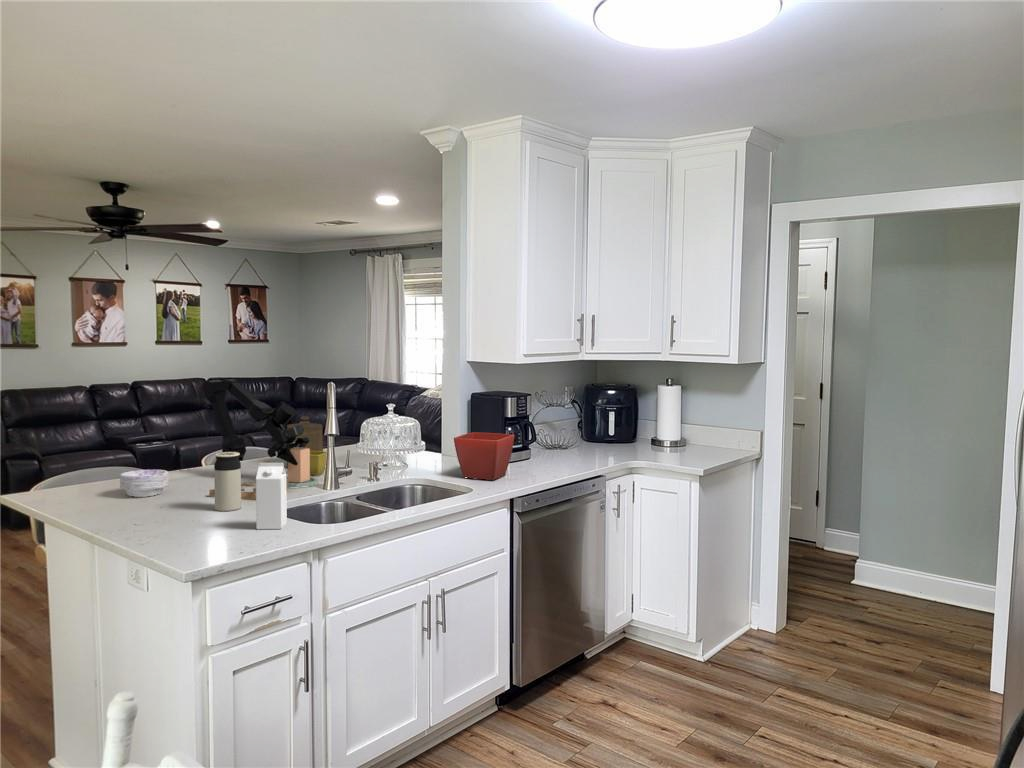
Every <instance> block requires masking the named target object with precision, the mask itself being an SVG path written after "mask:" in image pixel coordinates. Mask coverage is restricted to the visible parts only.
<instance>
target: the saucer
mask: <svg viewBox="0 0 1024 768" xmlns="http://www.w3.org/2000/svg"><path fill="white" fill-rule="evenodd" d="M316 483H318V484H319V479H317V478H316V477H312V476H310V480H308V481H304V482H301V483H300V482H290V481H289V487H302V486H312V485H314V484H316ZM312 487H313V486H312Z"/></svg>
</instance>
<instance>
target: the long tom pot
mask: <svg viewBox="0 0 1024 768" xmlns="http://www.w3.org/2000/svg"><path fill="white" fill-rule="evenodd" d="M290 452H291V453H292V455H293V456H294V458H295V459H296V461H297V463H298V464H297V465H293V464H291V463H289V462H288V468H287V477H289V481H290V482H300V483H301V482H304V481H308V480H310V477H311V475H310V448H304V447H295V448H291V449H290Z"/></svg>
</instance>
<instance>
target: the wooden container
mask: <svg viewBox="0 0 1024 768" xmlns="http://www.w3.org/2000/svg"><path fill="white" fill-rule="evenodd" d="M309 420H310V417H309V416H308V415H303V416H301V417H300V422H299V423H292V424H291V423H290V424H287V425H286V429H291V428H293V427H295V426H297V425H301V426H302V427H303V428H304V432H303V434H302V435H299V436H296V439H295V440H294V442H295V441H296V440H297V439H298V438H300V437H307V438H308V439H309V442H308V443H307V444H306V446H305V447H304V448H310V451H324V440H323V438H324V437H323V435H324V434H323V424H322V423H315V422H310V421H309ZM286 467H287V469H288V462H287V461H286Z"/></svg>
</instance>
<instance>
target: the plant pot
mask: <svg viewBox="0 0 1024 768" xmlns="http://www.w3.org/2000/svg"><path fill="white" fill-rule="evenodd" d="M514 440H515V434H513V433H511V434H510V433H493V432H478V431H477V432H476V431H474V432H473V431H472V432H469V433H465V434H462V435H461V434H460V435H459V436H456V437H453V443H454V449H455V453H456V458H457V461H458V464H459V467H460V470H461V474H462V476H463V478H464V477H467V478H476V479H486V480H485V481H488V480H494V481H496V480H498V479H500V478H502V477H504V476H505V475H506V472H507V470H508V467H509V463H510V461H511V456H512V452H513V447H514ZM497 478H498V479H497ZM476 479H475V480H476ZM495 479H496V480H495Z"/></svg>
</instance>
